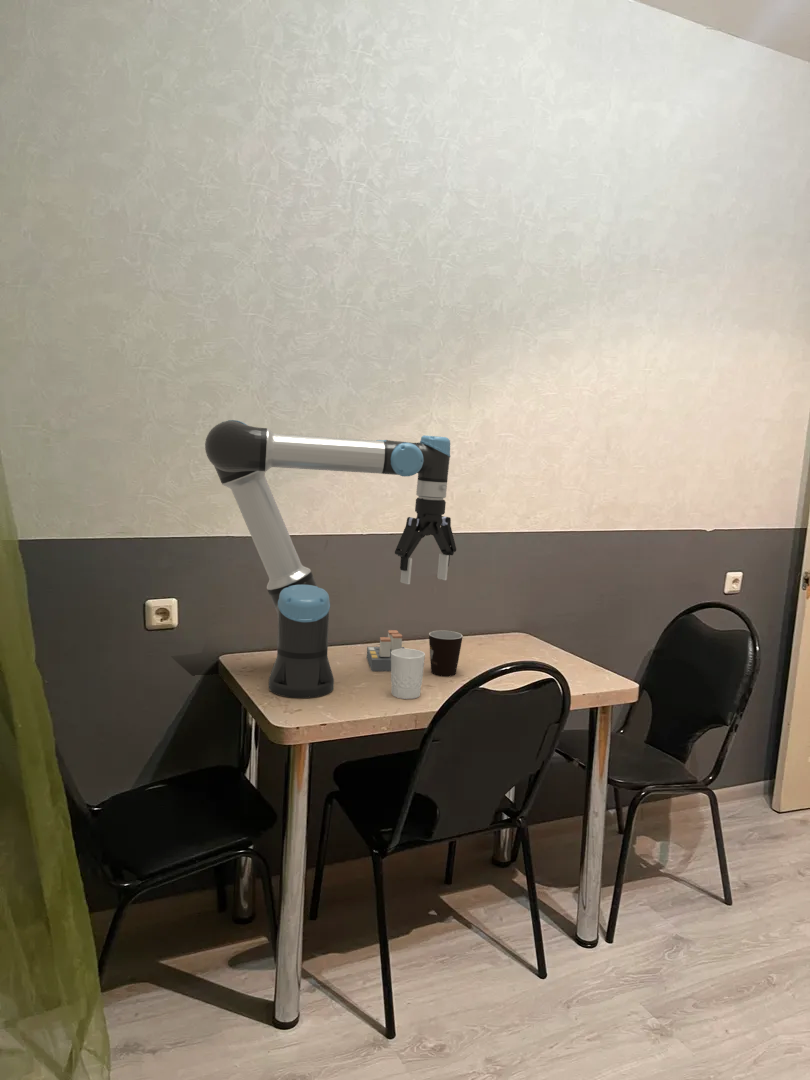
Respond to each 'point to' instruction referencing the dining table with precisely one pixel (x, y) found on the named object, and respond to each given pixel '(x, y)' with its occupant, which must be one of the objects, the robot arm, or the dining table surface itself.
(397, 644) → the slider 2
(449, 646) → the coffee mug
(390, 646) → the slider
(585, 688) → the dining table surface
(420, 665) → the white cup
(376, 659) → the grey slotted tray
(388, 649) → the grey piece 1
